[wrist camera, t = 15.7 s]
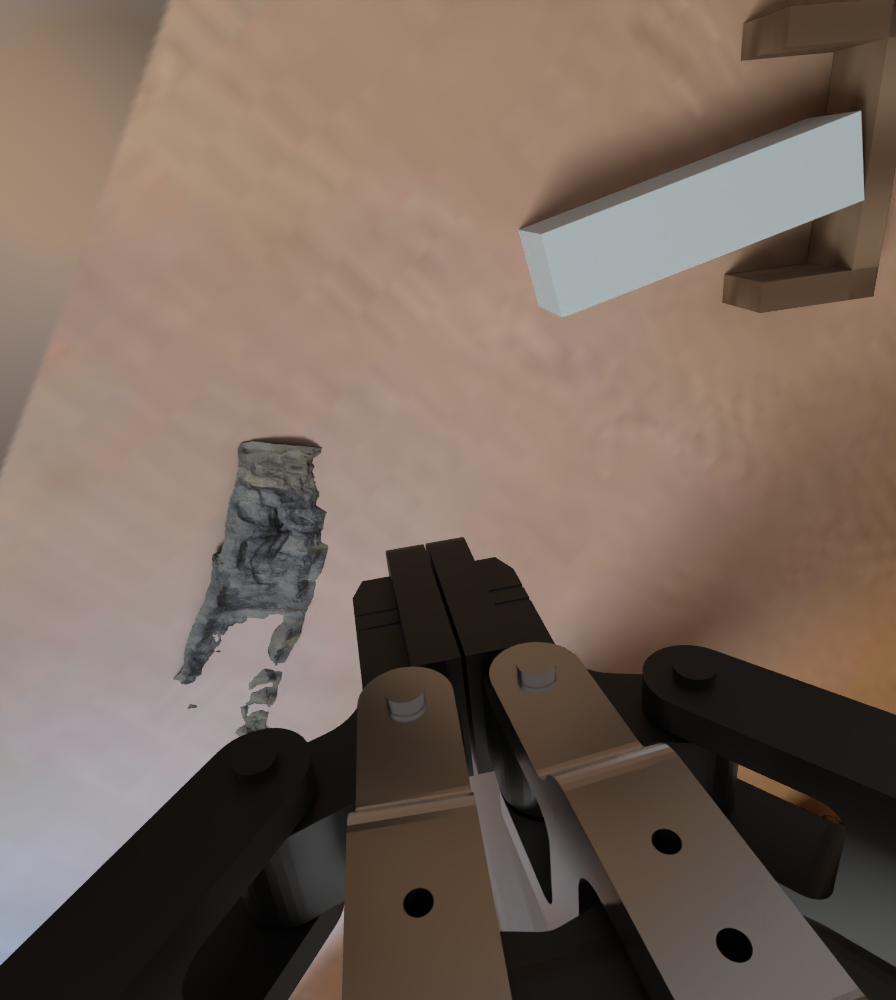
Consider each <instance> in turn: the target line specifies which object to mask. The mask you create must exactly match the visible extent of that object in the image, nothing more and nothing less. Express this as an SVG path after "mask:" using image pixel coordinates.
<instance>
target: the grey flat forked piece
mask: <svg viewBox="0 0 896 1000" xmlns="http://www.w3.org/2000/svg"><path fill="white" fill-rule="evenodd" d="M245 447H247V449H245ZM321 449H322V447H321V448H316V447H309V446H308V447H305V446H298V445H297V446H291V445H286V444H283V445H282V444H276V445H275V444H270V443H262V442H255V441H254V442H252V441H250V442H249V443H248V442H246V443H242V444H240V446H239V447H238V458H239V462H238V463H239V465H238V467H239V470H238V473H237V477H236V483H235V488H234V490H233V493H232V495H231V497H230V502H229V508H228V511H227V512H228V515H227V520H226V526H225V527H226V530H225V540H224V544H223V546H222V550H221V553H219V552H217V553H215V554H213V557H212V561H213V564H212V565H213V569H212V577H211V583H210V586H209V588H208V590H207V593H206V598H205V602H204V603H203V605H202V608H201V609H200V612H199V613H198V614H199V615H198V616H197V617H196V619H195V621H196V622H195V623H194V625H193V626H192V630H191V632H190V635H189V638H188V640H187V641H188V642H187V644H186V648H185V653H184V655H185V656H184V665H183V669H182V670H181V673H179V674H178V675H177V676H176V677H175V678H173V679H175V680H180V682H181V684H189V683H192V682H194V681H195V679H196V677H197V676H199V675H201V671H202V668H203V666H204V664H205V663H206V662H207V661H208V659H209V657H210V656H211V655H212V654H213V653H214V649H215V648H216V647H217V646H218V645H219V644H220V642H221V641H222V640H221V636H220V634H221V635H224V634H225V632H226V631H227V630H228V626H233V625H234V624H235V623H243V622H245V621H246V620H247V617H251V618H261V619H264V618H266V617H267V616H268V614H280V615H284V617H283V623H282V624H281V625H279V626H278V627H277V628H276V629H275V631H274V632H273V635H272V637H271V642H270V645H269V647H268V653H269V657H270V659H271V660H272V661H273V662H274V663H275V665H277V663H284V662H285V661H286V659H287V657H288V655H289V653H290V651H291V649H292V647H293V646H294V644H295V643H296V642H297V639H298V638H299V636H300V629H301V627H302V626H301V625H302V623H303V622H304V621H303V619H304V614H305V612H306V611H307V607H308V606H309V605H310V602H311V599H312V596H313V592H314V589H315V580H316V579H317V578H318V576H319V574H320V573H321V570H322V568H323V564H324V560H325V557H326V553H327V549H328V545H326V544H324V543H322V542H321V530H322V529H323V524H324V518H325V514H326V513H327V512H325V511H324V510H322V509H321V508H318V507H317V506H316V500H317V498H318V497H319V492H318V491H317V488H316V485H315V483H316V482H315V481H314V478H315V477H314V475H313V473H312V470H313V468H314V465H313V464H312V461H313V458H314V457H316V456H317V455H319V454H320V453H321ZM307 579H312V580H307ZM216 634H218V637H219V641H217V642H216V641H215V639H214V638H215V637H213V636H212V635H216ZM216 652H221V651H216ZM281 674H282V672H280V671H276V672H275V671H273V670H269V669H263V670H262V671H261V672H260V673H259V674H258V675H257V676H256V677H254V679H253V680H252V682H251V683H249V689H253V688H254V687H256V685H259V684H266V683H269V682H271V683H273V686H272V687H265V688H263V689H261V690H259V691H257V692H253V693H251V696H250V697H251V699H250V701H249V702H247V703H246V706H243V707H240V708H241V712H242V717H243V719H244V721H245V722H246V724H245V725H243V726H242V727H240V728H239V729H237V731H236V732H235V733H236V734H237V735H239V736H242V735H245V734H247V733H250V732H253V731H256V730H261V729H266V727H265V724H266V720H267V717H268V713H269V712H265V711H263V710H259V711H256V712H253V713H251V714H250V715H249V716H247V713H248V708H249V707H248V705H251V704H253V703H256V704H267V706H268V707H270V705H272V704H273V703H274V701H275V698H276V691H277V685H278V684H279V681H280V680H281ZM196 707H197V706H196V705H192V704H190V705H189V707H188V708H187V709H189V708H196Z"/></svg>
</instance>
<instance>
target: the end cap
mask: <svg viewBox="0 0 896 1000" xmlns="http://www.w3.org/2000/svg"><path fill="white" fill-rule="evenodd" d="M826 52H834V57H833V65H832V72H831V80H830V88H829V96H828V104H827V112H826V115H834V114H841V113H848V112H855V111H861V120H862V147H863V173H864V200H863V201H861V202H858V203H856V204H853V205H850V206H848V207H845V208H843V209H840V210H838V211H835V212H832V213H830V214H827V215H825V216H822V217H820V218H817V219H814V220H813V223H812V231H811V238H810V246H809V254H808V262H807V263H806V264H798V265H791V266H784V267H777V268H769V269H762V270H755V271H748V272H740V273H733V274H726V275H725V276H724V289H723V302H722V303H726V304H730V305H733V306H737V307H740V308H744V309H748V310H751V311H755V312H758V313H763V312H769V311H776V310H783V309H790V308H797V307H804V306H810V305H817V304H824V303H831V302H838V301H844V300H851V299H858V298H865V297H872V296H874V290H875V284H876V279H877V273H878V267H879V261H880V255H881V249H882V243H883V238H884V232H885V226H886V220H887V214H888V208H889V202H890V197H891V191H892V185H893V179H894V173H895V167H896V0H855V1H843V2H832V3H820V4H808V5H797V6H789V7H787V8H784V9H781V10H779V11H776V12H773V13H771V14H768V15H765V16H763V17H760V18H757V19H755V20H752V21H749V22H747V23H744V27H743V40H742V53H741V61H743V60H753V59H764V58H774V57H785V56H795V55H806V54H816V53H826Z"/></svg>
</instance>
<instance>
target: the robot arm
mask: <svg viewBox="0 0 896 1000" xmlns="http://www.w3.org/2000/svg"><path fill="white" fill-rule="evenodd" d="M386 558H387V565H388V571H389V577H384V578H378V579H373V580H367V581H362V583H361V585H360V586H359V588H358V590H357V592H356V594H355V595H354V597H353V606H354V615H355V624H356V632H357V642H358V651H359V660H360V669H361V678H362V687H363V690H362V692H361V694H360V696H359V699H358V704H357V709H356V710H355V712H354V713H353V714H352V715H351V716H350V717H349V718H348V719H347V720H346V721H345V722H344V723H343V724H341V725H340V726H338V727H337V728H336V729H334V730H332V731H330V732H328V733H327V734H325V735H322V736H320V737H318V738H316V739H314V740H312V741H310V742H308V743H307V742H306V740H305V739H304V738H303V737H302V736H301V735H299V734H298V733H296V732H294V731H291V730H287V729H282V728H267V729H261V730H256V731H253V732H250V733H247V734H245V735H242V736H240V737H238V738H237V739H235V740H233V741H231V742H230V743H228V744H227V745H226V746H224V747H223V748H222V749H221V750H220V751H219V752H217V753H216V754H215V755H214V756H213V757H212V758H211V759H210V760H209V761H208V762H207V763H206V764H205V765H204V766H203V767H202V768H201V769H200V770H199V771H198V772H197V773H196V774H195V775H194V776H193V777H192V778H191V779H190V780H189V781H188V782H187V783H186V784H185V785H184V786H183V787H182V788H181V789H180V790H179V791H178V792H177V793H176V794H175V795H174V796H173V797H172V798H171V799H170V800H169V801H168V802H167V803H166V804H164V805H163V806H162V807H161V808H160V809H159V810H158V811H157V812H156V813H155V814H154V815H153V816H152V817H151V818H150V819H149V820H148V821H147V822H146V823H145V824H144V825H143V826H142V827H141V828H140V829H139V830H138V831H137V832H136V833H135V834H134V835H133V836H132V837H131V838H130V839H129V840H128V841H127V842H126V843H125V844H124V845H123V846H122V847H121V848H120V849H119V850H118V851H117V852H116V853H115V854H114V855H113V856H112V857H110V858H109V859H108V860H107V861H106V862H105V863H104V864H103V865H102V866H101V867H100V868H99V869H98V870H97V871H96V872H95V873H94V874H93V875H92V876H91V877H90V878H89V879H88V880H87V881H86V882H85V883H84V884H83V885H82V886H81V887H80V888H79V889H78V890H77V891H76V892H75V893H74V894H73V895H72V896H71V897H70V898H69V899H68V900H67V901H66V902H65V903H64V904H63V905H62V906H61V907H60V908H59V909H57V910H56V911H55V912H54V913H53V914H52V915H51V916H50V917H49V918H48V919H47V920H46V921H45V922H44V923H43V924H42V925H41V926H40V927H39V928H38V929H37V930H36V931H35V932H34V933H33V934H32V935H31V936H30V937H29V938H28V939H27V940H26V941H25V942H24V943H23V944H22V945H21V946H20V947H19V948H18V949H17V950H16V951H15V952H14V953H13V954H12V955H11V956H10V957H9V958H8V959H7V960H6V961H4V962H3V963H2V964H1V965H0V1000H288V999H289V997H290V996H291V994H292V993H293V991H294V989H295V988H296V986H297V985H298V983H299V982H300V980H301V979H302V977H303V975H304V974H305V972H306V971H307V969H308V968H309V966H310V965H311V963H312V961H313V960H314V958H315V957H316V955H317V954H318V952H319V951H320V949H321V947H322V946H323V944H324V943H325V941H326V940H327V938H328V937H329V935H330V933H331V932H332V930H333V929H334V927H335V926H336V924H337V922H338V920H339V919H340V917H341V914H342V911H343V908H344V935H343V971H342V1000H896V715H895V714H892V713H889V712H886V711H883V710H881V709H878V708H875V707H872V706H869V705H867V704H864V703H861V702H858V701H855V700H852V699H850V698H847V697H844V696H841V695H838V694H836V693H833V692H830V691H827V690H824V689H821V688H819V687H816V686H813V685H810V684H807V683H805V682H802V681H799V680H796V679H793V678H791V677H788V676H785V675H782V674H779V673H776V672H774V671H771V670H768V669H765V668H762V667H760V666H757V665H754V664H751V663H748V662H745V661H743V660H740V659H737V658H734V657H731V656H729V655H726V654H723V653H720V652H717V651H714V650H711V649H708V648H704V647H699V646H691V645H678V646H671V647H667V648H663V649H661V650H658V651H656V652H655V653H653V654H652V655H651V656H650V657H648V658H647V660H646V661H645V663H644V666H643V674H612V673H601V672H596V671H592V670H588V669H586V668H585V666H584V665H583V664H582V662H581V661H580V659H579V658H578V657H577V656H576V655H575V654H573V653H572V652H571V651H569V650H567V649H566V648H564V647H561V646H559V645H555V643H554V641H553V640H552V638H551V636H550V634H549V632H548V631H547V629H546V627H545V625H544V623H543V622H542V620H541V618H540V616H539V614H538V613H537V611H536V609H535V607H534V605H533V603H532V602H531V601H530V600H529V596H528V594H527V593H526V591H525V589H524V587H522V584H521V582H520V580H519V578H518V576H517V575H516V573H515V571H514V569H513V568H511V567H510V566H508V565H507V564H505V563H503V562H502V561H500V560H499V559H497V558H496V557H493V558H488V559H482V560H477V561H475V560H474V558H473V556H472V554H471V552H470V549H469V547H468V545H467V543H466V541H465V539H464V537H460V538H455V539H449V540H443V541H438V542H432V543H426V550H425V547H424V545H423V544H422V545H416V546H410V547H405V548H399V549H393V550H388V551H386ZM738 764H739V765H741V766H744V767H746V768H748V769H750V770H753V771H755V772H757V773H759V774H761V775H764V776H766V777H768V778H770V779H773V780H775V781H777V782H779V783H781V784H784V785H786V786H788V787H790V788H792V789H795V790H797V791H799V792H801V793H804V794H806V795H808V796H810V797H812V798H815V799H817V800H819V801H821V802H822V803H824V804H826V805H827V806H828V807H830V808H831V809H832V810H833V811H834V812H835V813H836V814H837V815H838V816H839V818H840V819H841V821H842V822H843V824H844V825H841V824H836V823H833V822H830V821H828V820H826V819H824V818H822V817H819V816H817V815H815V814H813V813H811V812H809V811H807V810H804V809H802V808H800V807H798V806H796V805H794V804H791V803H789V802H787V801H785V800H783V799H781V798H779V797H776V796H774V795H772V794H770V793H768V792H766V791H763V790H761V789H759V788H757V787H755V786H753V785H751V784H748V783H746V782H744V781H742V780H740V779H738V778H737V771H738Z"/></svg>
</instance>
